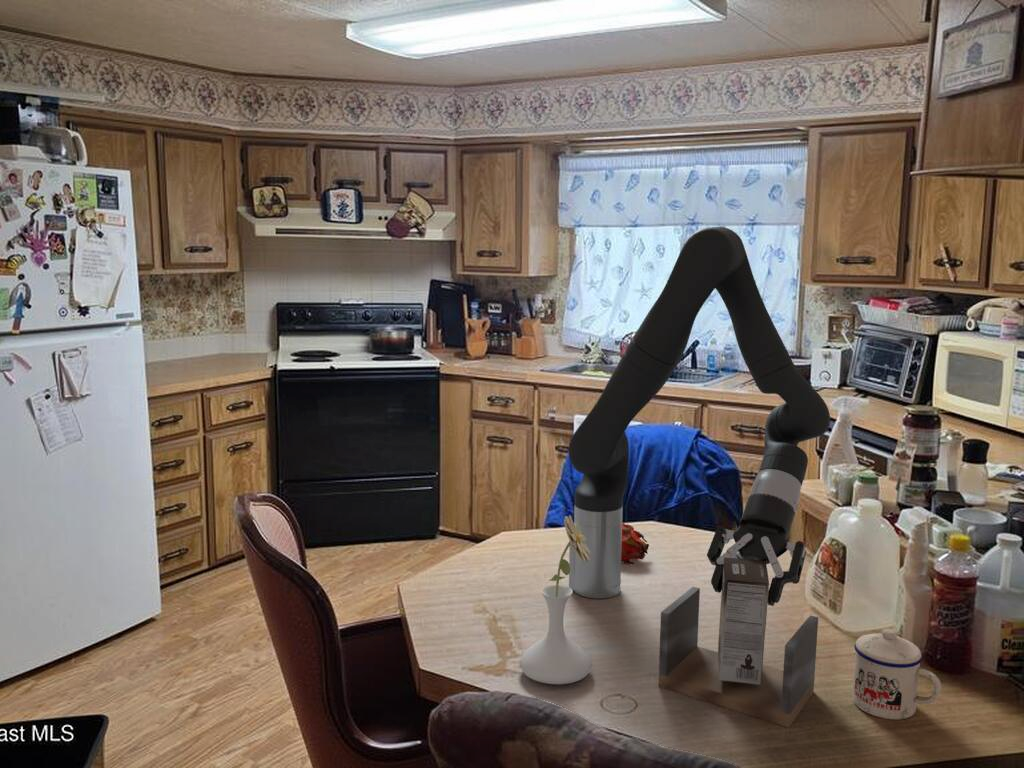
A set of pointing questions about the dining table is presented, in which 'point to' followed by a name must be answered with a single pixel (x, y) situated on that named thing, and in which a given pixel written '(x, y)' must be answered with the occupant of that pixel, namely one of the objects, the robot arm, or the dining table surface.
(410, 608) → the dining table surface
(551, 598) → the flower in vase
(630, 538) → the dragon fruit
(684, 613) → the shelf bay
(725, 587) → the coffee box
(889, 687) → the teacup with lid
